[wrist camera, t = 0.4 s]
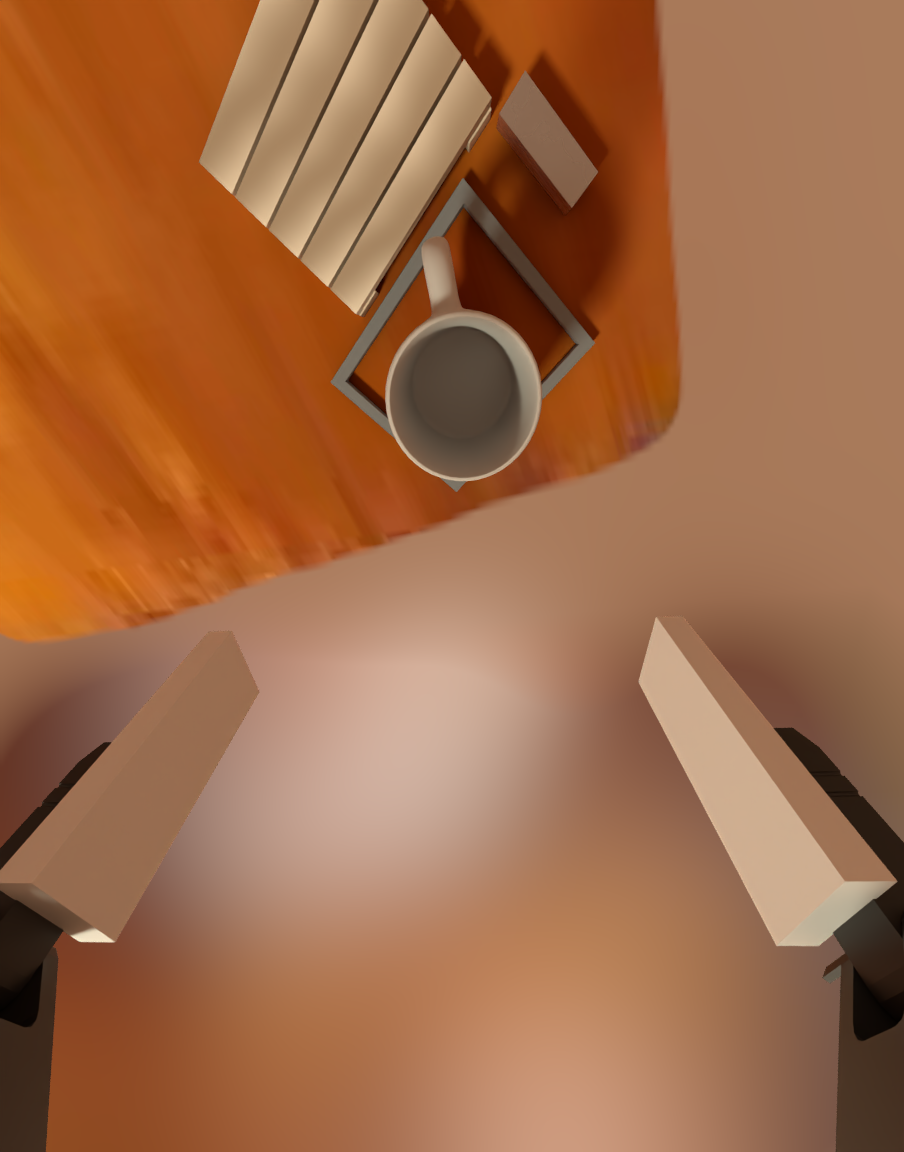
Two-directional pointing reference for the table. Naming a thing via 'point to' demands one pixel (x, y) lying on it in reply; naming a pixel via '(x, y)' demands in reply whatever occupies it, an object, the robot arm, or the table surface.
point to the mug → (461, 384)
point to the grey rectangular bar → (545, 144)
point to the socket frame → (449, 213)
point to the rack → (344, 130)
